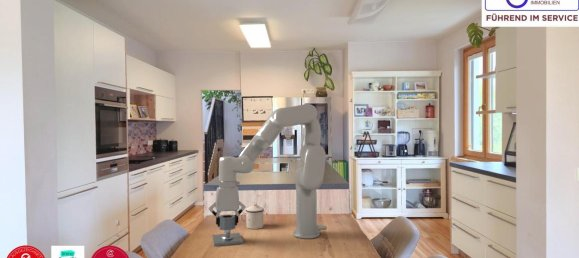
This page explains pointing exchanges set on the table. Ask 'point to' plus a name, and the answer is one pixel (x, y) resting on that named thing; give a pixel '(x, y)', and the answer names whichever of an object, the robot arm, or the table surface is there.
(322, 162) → the robot arm
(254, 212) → the teacup with lid
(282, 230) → the table surface
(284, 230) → the table surface
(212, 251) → the table surface
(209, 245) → the table surface
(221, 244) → the shaft block
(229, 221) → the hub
